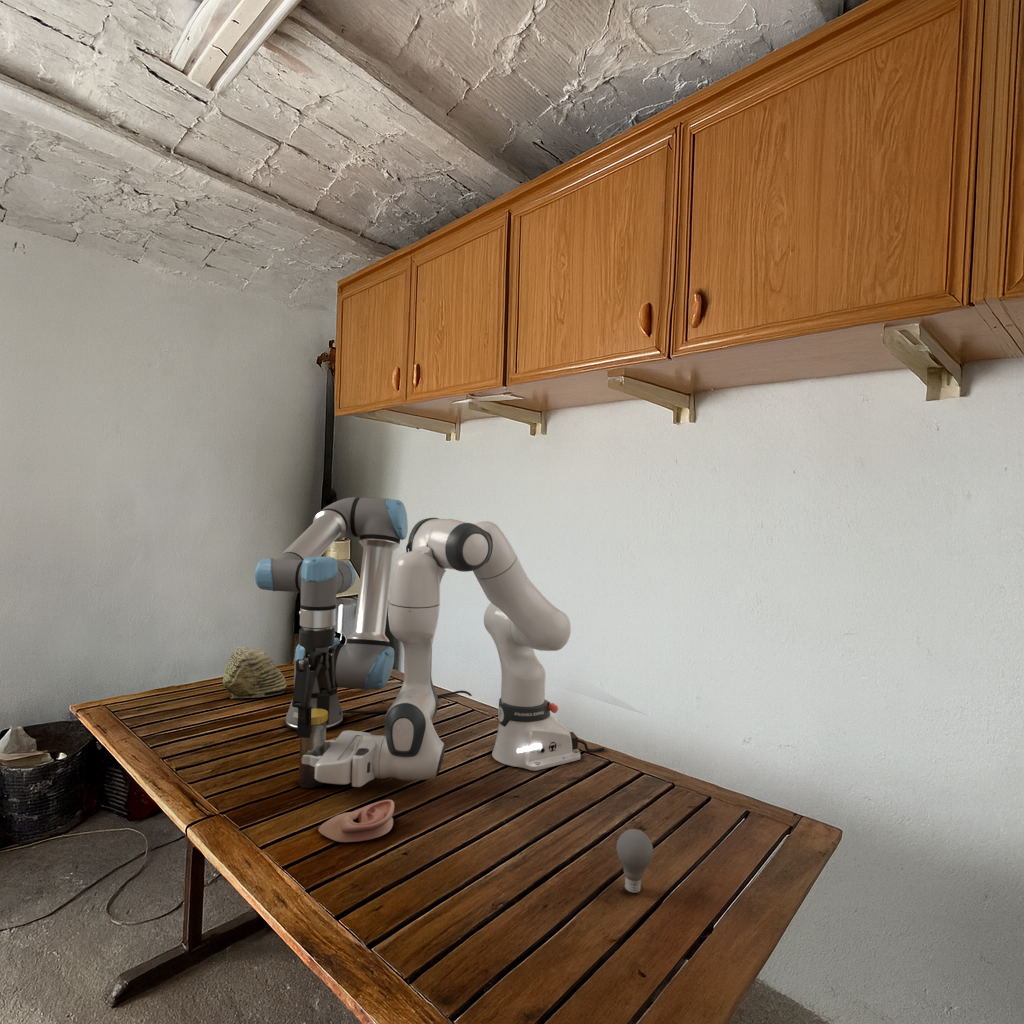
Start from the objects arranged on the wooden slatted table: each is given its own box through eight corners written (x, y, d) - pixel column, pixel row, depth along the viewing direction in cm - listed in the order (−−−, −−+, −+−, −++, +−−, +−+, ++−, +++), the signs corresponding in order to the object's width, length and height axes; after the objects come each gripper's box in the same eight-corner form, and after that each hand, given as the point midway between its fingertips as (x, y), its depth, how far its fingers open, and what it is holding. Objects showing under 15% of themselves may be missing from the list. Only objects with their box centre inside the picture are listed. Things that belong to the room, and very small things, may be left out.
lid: (301, 726, 136) (302, 719, 136) (297, 717, 141) (297, 710, 141) (330, 722, 138) (330, 715, 138) (324, 714, 144) (325, 707, 144)
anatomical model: (310, 816, 117) (339, 789, 129) (309, 837, 117) (338, 808, 129) (377, 827, 115) (401, 798, 126) (376, 848, 115) (400, 818, 126)
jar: (306, 776, 143) (308, 711, 143) (328, 779, 142) (331, 713, 142) (293, 786, 138) (296, 719, 138) (316, 789, 137) (319, 721, 137)
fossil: (218, 695, 195) (220, 647, 195) (278, 685, 208) (279, 640, 207) (228, 703, 189) (230, 653, 188) (289, 692, 201) (290, 645, 201)
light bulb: (610, 879, 108) (613, 822, 108) (644, 879, 109) (647, 822, 109) (619, 902, 102) (622, 840, 102) (655, 901, 103) (658, 840, 103)
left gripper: (323, 617, 150) (319, 713, 151) (276, 635, 130) (272, 745, 130) (353, 620, 149) (349, 716, 149) (310, 638, 128) (306, 749, 129)
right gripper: (382, 725, 150) (324, 721, 150) (358, 760, 129) (291, 756, 130) (381, 751, 150) (323, 748, 150) (357, 791, 129) (290, 787, 130)
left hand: (313, 729), depth 140 cm, fingers open, 8 cm apart
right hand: (308, 752), depth 140 cm, fingers closed on jar, 5 cm apart
